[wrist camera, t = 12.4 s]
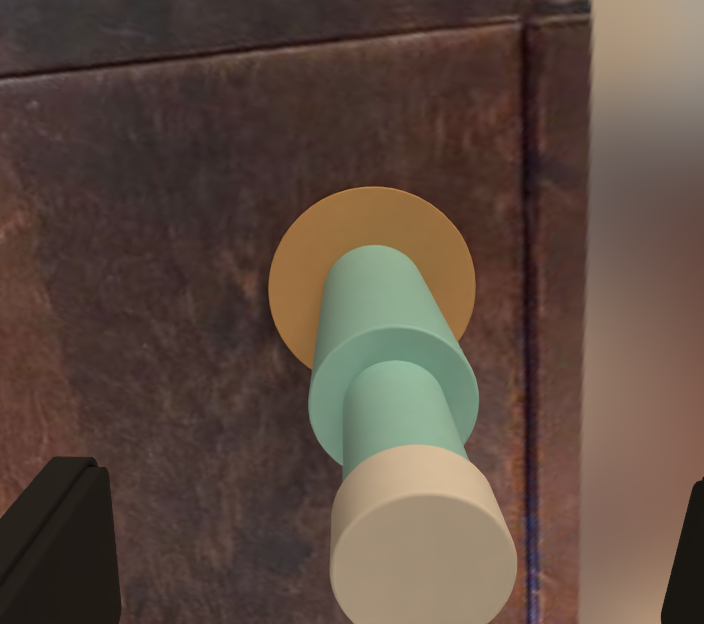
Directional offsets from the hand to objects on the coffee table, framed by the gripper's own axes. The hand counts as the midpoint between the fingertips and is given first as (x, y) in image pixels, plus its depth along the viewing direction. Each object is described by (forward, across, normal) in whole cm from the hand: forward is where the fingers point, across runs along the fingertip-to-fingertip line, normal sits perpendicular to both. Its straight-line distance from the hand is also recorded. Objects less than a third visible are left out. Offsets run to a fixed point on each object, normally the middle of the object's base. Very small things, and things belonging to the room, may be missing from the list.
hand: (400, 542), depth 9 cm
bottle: (+17, -1, +1) cm, 17 cm away
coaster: (+17, -1, +1) cm, 17 cm away
